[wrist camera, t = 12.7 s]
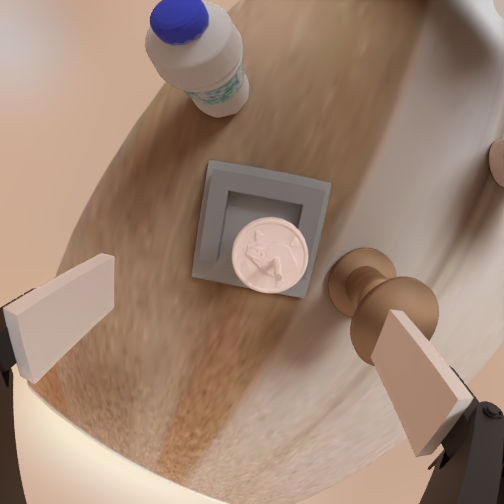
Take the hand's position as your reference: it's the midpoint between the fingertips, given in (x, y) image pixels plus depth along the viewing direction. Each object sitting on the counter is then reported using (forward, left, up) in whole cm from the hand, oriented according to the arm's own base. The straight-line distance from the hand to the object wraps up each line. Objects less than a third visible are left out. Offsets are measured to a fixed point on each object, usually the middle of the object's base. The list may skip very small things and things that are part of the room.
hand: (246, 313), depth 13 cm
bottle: (-15, -7, -22) cm, 28 cm away
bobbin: (+4, +14, -22) cm, 26 cm away
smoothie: (0, +1, -21) cm, 21 cm away
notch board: (0, 0, -22) cm, 22 cm away
